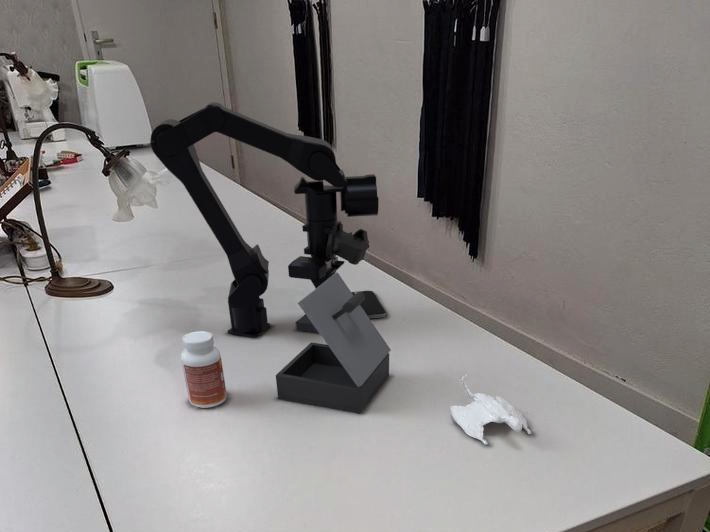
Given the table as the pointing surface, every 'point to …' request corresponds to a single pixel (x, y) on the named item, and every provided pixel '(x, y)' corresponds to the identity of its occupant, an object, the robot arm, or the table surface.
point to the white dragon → (486, 414)
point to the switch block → (305, 325)
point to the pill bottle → (203, 370)
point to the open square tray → (327, 381)
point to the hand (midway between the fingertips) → (325, 300)
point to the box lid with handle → (345, 327)
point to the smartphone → (372, 305)
